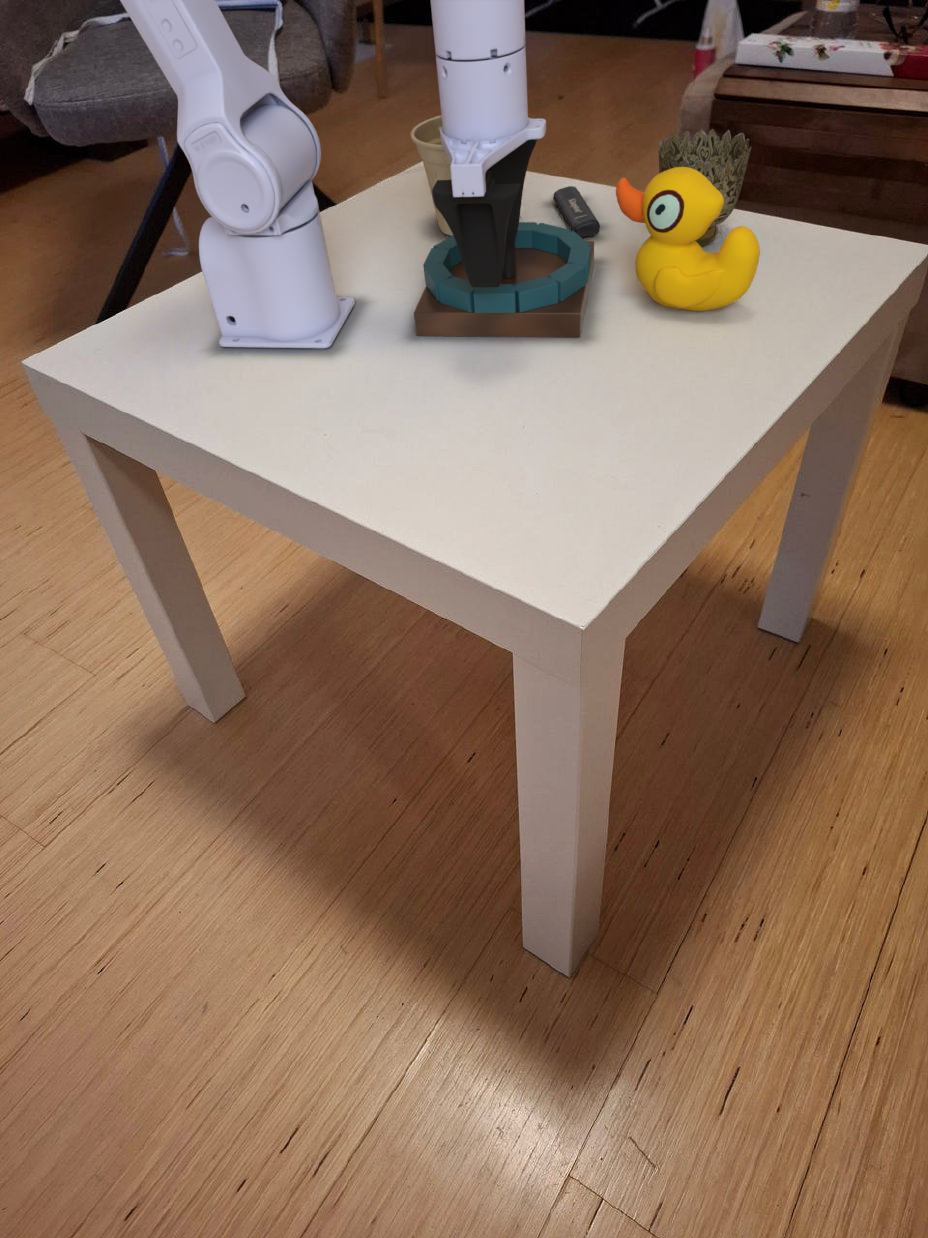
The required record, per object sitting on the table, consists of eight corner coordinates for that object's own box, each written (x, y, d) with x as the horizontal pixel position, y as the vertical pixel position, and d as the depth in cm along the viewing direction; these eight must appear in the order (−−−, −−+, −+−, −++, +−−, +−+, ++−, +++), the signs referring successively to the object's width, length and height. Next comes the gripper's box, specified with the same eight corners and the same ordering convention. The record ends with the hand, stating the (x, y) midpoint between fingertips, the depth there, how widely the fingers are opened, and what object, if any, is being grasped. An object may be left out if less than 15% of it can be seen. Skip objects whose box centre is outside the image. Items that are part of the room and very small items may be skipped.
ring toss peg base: (416, 336, 70) (405, 255, 65) (448, 264, 78) (440, 188, 74) (580, 337, 67) (581, 253, 63) (594, 263, 76) (595, 184, 71)
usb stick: (552, 203, 86) (551, 186, 85) (578, 199, 86) (578, 182, 85) (573, 241, 80) (573, 224, 78) (601, 237, 80) (602, 219, 79)
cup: (738, 258, 74) (752, 157, 68) (650, 258, 76) (656, 159, 70) (737, 222, 79) (750, 126, 73) (654, 223, 81) (661, 128, 75)
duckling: (598, 306, 70) (601, 175, 63) (626, 278, 73) (632, 150, 66) (736, 333, 66) (756, 194, 59) (760, 301, 69) (782, 166, 62)
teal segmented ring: (411, 313, 68) (409, 293, 67) (445, 241, 77) (443, 222, 76) (581, 313, 66) (581, 293, 65) (595, 239, 75) (596, 220, 73)
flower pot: (402, 235, 84) (388, 137, 78) (461, 199, 89) (453, 104, 83) (480, 253, 79) (473, 151, 73) (538, 215, 84) (536, 116, 78)
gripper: (527, 79, 49) (535, 307, 59) (556, 15, 59) (558, 220, 69) (407, 85, 51) (434, 307, 61) (454, 22, 61) (471, 222, 70)
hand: (494, 261), depth 65 cm, fingers open, 7 cm apart
